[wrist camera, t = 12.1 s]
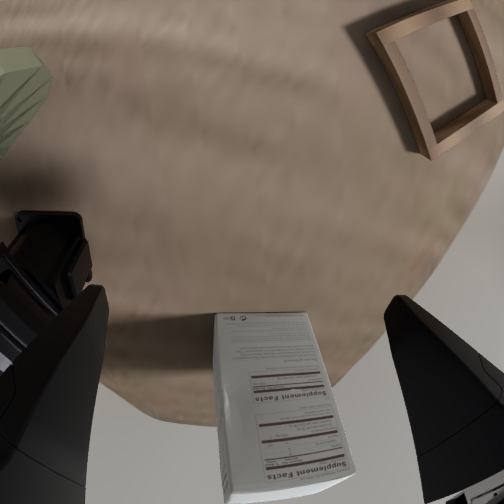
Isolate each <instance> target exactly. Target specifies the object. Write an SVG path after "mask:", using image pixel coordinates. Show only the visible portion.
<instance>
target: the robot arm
mask: <svg viewBox="0 0 504 504" xmlns="http://www.w3.org/2000/svg"><path fill="white" fill-rule="evenodd" d="M20 218H21V219H20ZM74 219H76V220H77V221H78V222H76V221H75V220H74ZM15 221H16V225H17V229H18V235H17V236H16V237H15V238H14V240H13V241H12V242H11V244H10V245H9V246H8V248H7V247H6V246H5V244H4V243H3V242H1V243H0V504H85V489H86V488H85V486H86V472H87V461H88V451H89V442H90V433H91V426H92V419H93V412H94V406H95V400H96V395H97V389H98V384H99V379H100V374H101V369H102V363H103V357H104V347H105V338H106V330H107V322H108V315H109V306H108V301H107V297H106V293H105V289H104V287H103V286H102V285H94V284H90V285H88V286H87V287H86V288H85V289H84V290H83V291H82V289H83V287H84V284H85V282H89V281H91V279H92V271H91V268H92V261H91V256H90V251H89V245H88V241H87V240H86V239H85V234H84V228H83V221H82V217H81V216H80V215H79V214H78V213H61V212H18V213H17V215H16V216H15ZM384 321H385V325H386V330H387V334H388V339H389V344H390V349H391V353H392V358H393V361H394V365H395V368H396V372H397V375H398V379H399V382H400V386H401V390H402V393H403V397H404V401H405V405H406V409H407V413H408V417H409V422H410V426H411V430H412V435H413V440H414V444H415V449H416V454H417V461H418V466H419V472H420V478H421V483H422V491H423V498H424V503H425V504H427V503H430V502H433V501H436V500H439V499H441V498H444V497H446V496H449V495H451V494H454V493H457V492H459V491H461V490H463V491H462V492H461V493H459V494H458V495H456V496H454V497H453V498H451V499H450V500H448V501H447V502H446V504H504V373H503V372H502V371H501V370H499V369H498V368H497V367H495V366H494V365H493V364H492V363H490V362H489V361H488V360H487V359H486V358H484V357H483V356H482V355H481V354H480V353H478V352H477V351H476V350H475V349H474V348H472V347H471V346H470V345H469V344H467V343H466V342H465V341H464V340H463V339H461V338H460V337H459V336H458V335H456V334H455V333H454V332H453V331H452V330H450V329H449V328H448V327H447V326H445V325H444V324H443V323H441V322H440V321H439V320H438V319H436V318H435V317H434V316H432V315H431V314H430V313H429V312H427V311H426V310H425V309H423V308H422V307H421V306H420V305H418V304H417V303H416V302H414V301H413V300H412V299H410V298H409V297H408V296H406V295H396V296H394V297H393V299H392V300H391V302H390V304H389V305H388V307H387V309H386V310H385V313H384Z"/></svg>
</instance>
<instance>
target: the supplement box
mask: <svg viewBox="0 0 504 504" xmlns="http://www.w3.org/2000/svg"><path fill="white" fill-rule="evenodd" d="M213 375H214V391H215V406H216V419H217V430H218V440H219V453H220V469H221V479H222V487H223V495H224V503H225V504H245V503H256V502H265V501H273V500H281V499H287V498H294V497H300V496H305V495H310V494H314V493H317V492H320V491H322V490H324V489H327V488H329V487H331V486H333V485H335V484H337V483H339V482H341V481H343V480H345V479H347V478H349V477H350V476H352V475H354V474H356V473H357V469H356V466H355V463H354V459H353V456H352V453H351V449H350V446H349V442H348V439H347V436H346V433H345V430H344V427H343V423H342V419H341V417H340V414H339V410H338V407H337V403H336V400H335V397H334V394H333V391H332V387H331V385H330V382H329V378H328V375H327V372H326V369H325V366H324V363H323V360H322V357H321V354H320V351H319V348H318V345H317V342H316V339H315V336H314V333H313V330H312V327H311V324H310V321H309V318H308V316H307V313H306V312H297V313H217V314H215V321H214V339H213Z"/></svg>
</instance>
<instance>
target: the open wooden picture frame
mask: <svg viewBox="0 0 504 504" xmlns="http://www.w3.org/2000/svg"><path fill="white" fill-rule="evenodd" d="M454 15H457V17H458V19H459V21H460V23H461V26H462V28H463V31H464V33H465V35H466V38H467V40H468V43H469V46H470V48H471V51H472V54H473V57H474V60H475V62H476V66H477V69H478V72H479V75H480V78H481V82H482V85H483V89H484V92H485V96H486V99H485V100H484V101H482V102H481V103H479V104H478V105H476V106H475V107H473V108H472V109H470V110H468V111H467V112H465V113H464V114H462V115H461V116H459V117H458V118H456V119H455V120H453V121H452V122H450V123H448V124H447V125H445V126H444V127H442V128H441V129H439V130H438V131H436V132H435V133H433V130H432V127H431V124H430V121H429V118H428V115H427V113H426V110H425V107H424V105H423V102H422V99H421V97H420V94H419V92H418V90H417V87H416V85H415V82H414V80H413V78H412V76H411V73H410V71H409V69H408V67H407V65H406V62H405V60H404V58H403V56H402V54H401V52H400V50H399V48H398V46H397V44H396V42H395V41H394V40H397V39H399V38H401V37H403V36H405V35H407V34H410V33H412V32H414V31H416V30H419V29H421V28H423V27H426V26H428V25H431V24H433V23H436V22H438V21H441V20H443V19H446V18H448V17H451V16H454ZM365 34H366V36H367V37H368V39H369V41H370V42H371V44H372V46H373V48H374V50H375V51H376V53H377V55H378V57H379V59H380V61H381V62H382V64H383V66H384V68H385V70H386V72H387V74H388V76H389V78H390V80H391V82H392V85H393V87H394V89H395V91H396V93H397V95H398V98H399V100H400V102H401V104H402V107H403V109H404V111H405V114H406V116H407V119H408V121H409V124H410V126H411V129H412V131H413V134H414V137H415V139H416V142H417V145H418V148H419V150H420V153H421V154H422V155H423V156H425V157H426V158H428V159H429V160H431V161H432V160H434V159H435V158H437V157H438V156H439V155H441V154H442V153H444V152H445V151H447V150H448V149H450V148H451V147H453V146H454V145H455V144H457V143H458V142H460V141H461V140H463V139H464V138H466V137H467V136H468V135H470V134H471V133H473V132H474V131H476V130H477V129H478V128H480V127H481V126H483V125H484V124H486V123H487V122H488V121H490V120H491V119H493V118H494V117H495V116H497V115H498V114H500V113H501V112H502V111H504V101H503V96H502V92H501V88H500V84H499V80H498V76H497V72H496V69H495V65H494V62H493V59H492V56H491V53H490V50H489V47H488V44H487V41H486V38H485V35H484V33H483V30H482V27H481V25H480V22H479V20H478V18H477V15H476V13H475V11H474V8H473V6H472V4H471V2H470V0H447V1H444V2H441V3H438V4H435V5H432V6H429V7H426V8H423V9H421V10H418V11H415V12H413V13H410V14H408V15H405V16H403V17H400V18H398V19H396V20H393V21H391V22H388V23H386V24H384V25H382V26H379V27H377V28H375V29H373V30H371V31H369V32H366V33H365Z"/></svg>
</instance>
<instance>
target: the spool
mask: <svg viewBox="0 0 504 504" xmlns="http://www.w3.org/2000/svg"><path fill="white" fill-rule="evenodd" d="M52 79H53V76H52V75H51V73H50V72H49V70H48V69H47V67H46V66H45V65H44V63H43V62H42V60H41V59H40V58H39V57H38V56H37V55H36V54H35V53H34V51H33V50H32V49H31V48H30V47H29V46H27V47H14V48H4V49H0V158H1V157H2V156H3V155H4V154H5V152H6V151H7V150H8V149H9V148H10V146H11V145H12V144H13V142H14V141H15V140H16V138H17V137H18V136H19V134H20V133H21V132H22V131H23V129H24V128H25V127H26V126H27V124H28V123H29V122H30V121H31V120H32V118H33V116H34V115H35V113H36V112H37V110H38V109H39V107H40V106H41V104H42V103H43V101H44V100H45V98H46V97H47V95H48V91H49V88H50V85H51V82H52Z"/></svg>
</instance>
